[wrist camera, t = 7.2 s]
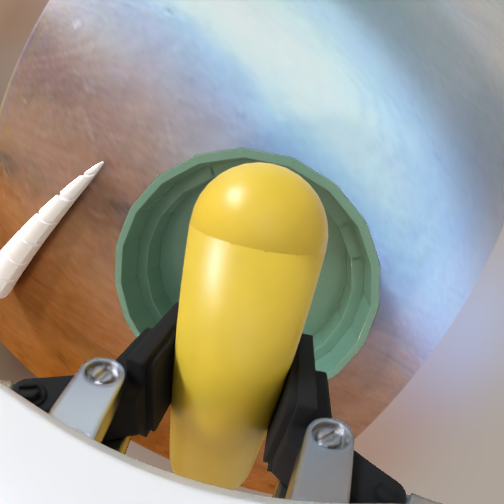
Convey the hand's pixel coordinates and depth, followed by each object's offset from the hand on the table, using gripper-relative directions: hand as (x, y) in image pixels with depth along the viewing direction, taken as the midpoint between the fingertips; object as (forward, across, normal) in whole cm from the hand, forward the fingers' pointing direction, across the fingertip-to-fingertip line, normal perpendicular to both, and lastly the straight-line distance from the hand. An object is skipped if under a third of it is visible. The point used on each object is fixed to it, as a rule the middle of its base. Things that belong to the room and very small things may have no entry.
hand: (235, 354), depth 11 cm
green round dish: (+14, +1, +1) cm, 14 cm away
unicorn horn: (+14, +25, +3) cm, 29 cm away
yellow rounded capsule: (0, 0, 0) cm, 0 cm away
